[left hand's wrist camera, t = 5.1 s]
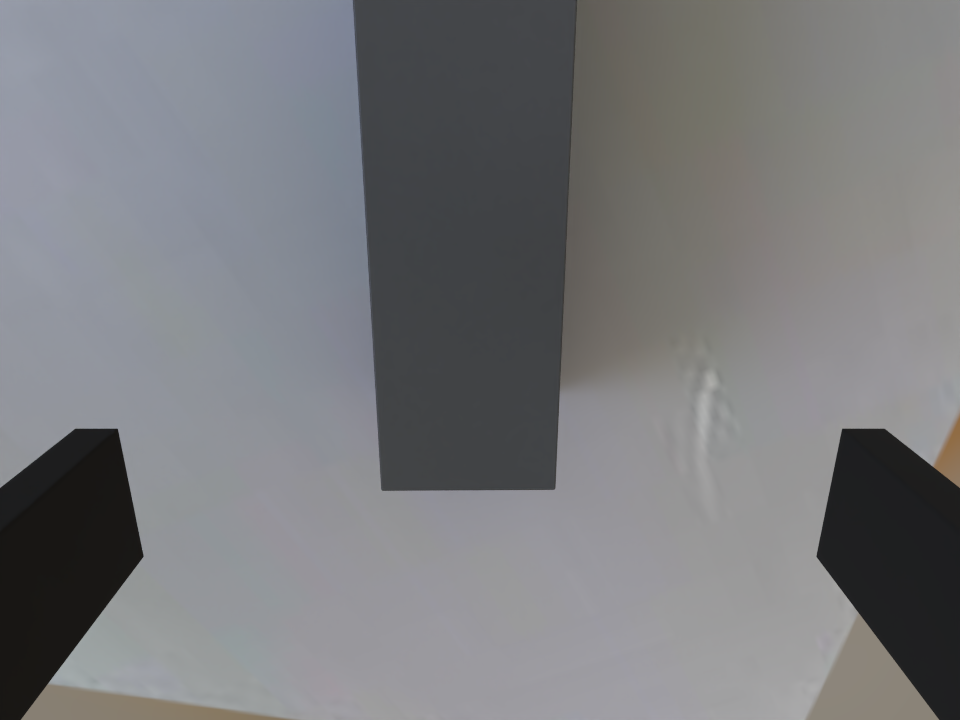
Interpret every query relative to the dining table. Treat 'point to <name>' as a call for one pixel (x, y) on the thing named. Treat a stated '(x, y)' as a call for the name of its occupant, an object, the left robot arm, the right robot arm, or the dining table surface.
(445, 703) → the dining table surface
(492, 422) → the beam
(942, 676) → the left robot arm
